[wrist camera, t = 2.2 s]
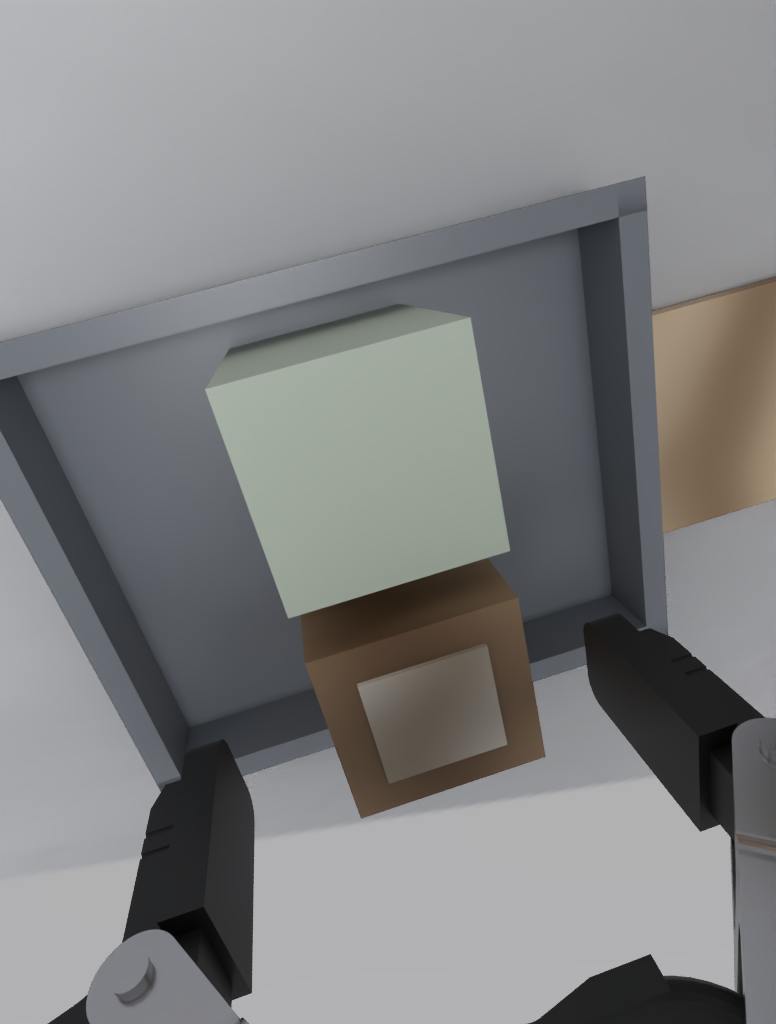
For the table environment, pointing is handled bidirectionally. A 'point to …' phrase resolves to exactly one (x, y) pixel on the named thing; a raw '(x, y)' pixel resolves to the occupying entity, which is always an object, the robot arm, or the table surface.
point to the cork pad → (716, 403)
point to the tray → (221, 504)
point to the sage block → (362, 452)
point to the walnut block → (424, 685)
